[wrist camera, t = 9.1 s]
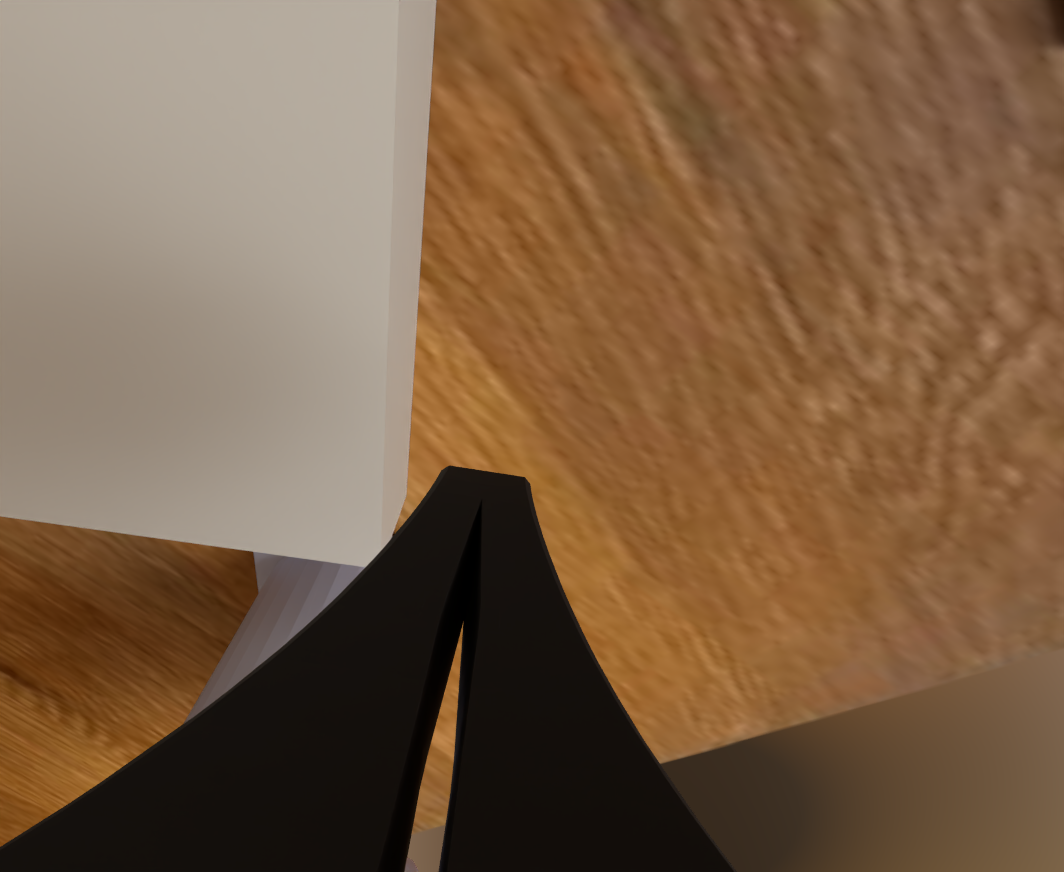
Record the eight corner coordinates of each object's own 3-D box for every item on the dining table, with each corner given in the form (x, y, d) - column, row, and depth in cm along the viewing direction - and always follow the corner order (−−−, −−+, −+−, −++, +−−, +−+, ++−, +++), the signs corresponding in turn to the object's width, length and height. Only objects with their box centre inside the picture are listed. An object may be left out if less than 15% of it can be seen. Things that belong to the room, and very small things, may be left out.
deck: (406, 495, 22) (380, 569, 19) (35, 440, 22) (-62, 507, 18) (461, -409, 11) (419, -634, 7) (-332, -604, 10) (-784, -953, 7)
